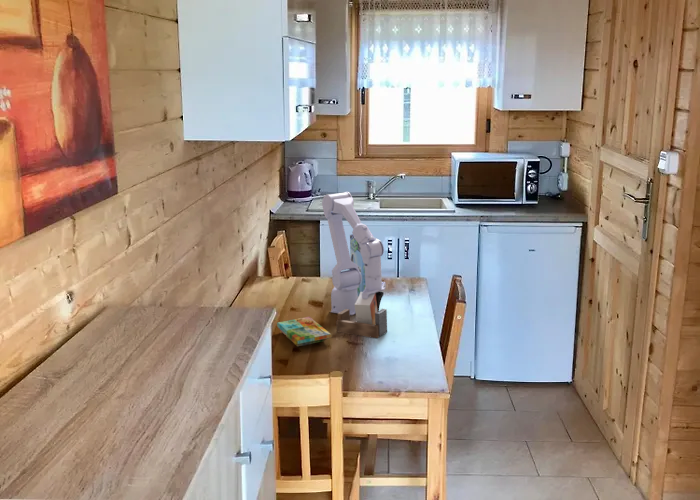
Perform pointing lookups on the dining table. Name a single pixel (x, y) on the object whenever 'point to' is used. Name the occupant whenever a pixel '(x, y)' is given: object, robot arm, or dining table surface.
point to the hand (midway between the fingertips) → (375, 312)
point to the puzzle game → (303, 331)
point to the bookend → (381, 321)
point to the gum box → (357, 261)
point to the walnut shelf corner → (355, 326)
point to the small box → (366, 309)
